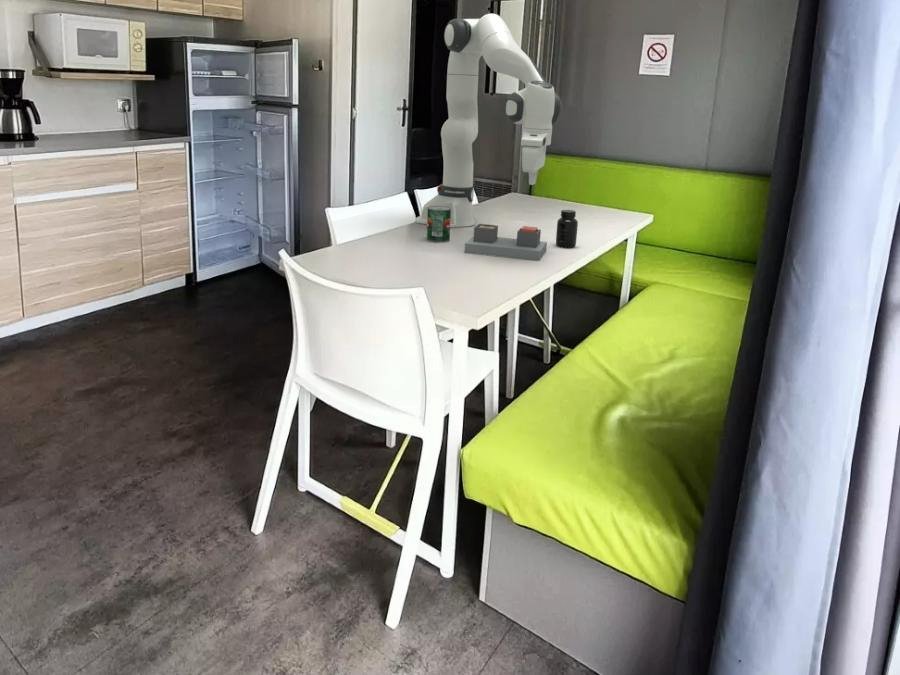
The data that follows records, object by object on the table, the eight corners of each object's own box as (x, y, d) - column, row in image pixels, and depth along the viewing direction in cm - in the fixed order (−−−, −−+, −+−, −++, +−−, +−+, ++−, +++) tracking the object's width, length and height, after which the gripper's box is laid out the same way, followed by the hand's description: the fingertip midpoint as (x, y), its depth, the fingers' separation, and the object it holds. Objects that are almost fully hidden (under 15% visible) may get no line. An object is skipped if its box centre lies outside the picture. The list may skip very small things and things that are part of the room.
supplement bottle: (561, 242, 247) (565, 208, 243) (579, 246, 243) (583, 211, 239) (551, 246, 242) (554, 210, 237) (568, 249, 238) (572, 213, 233)
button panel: (464, 252, 228) (465, 229, 225) (475, 243, 240) (476, 221, 238) (539, 260, 222) (541, 236, 219) (546, 250, 234) (548, 227, 232)
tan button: (477, 240, 230) (477, 227, 229) (480, 237, 234) (481, 225, 233) (490, 241, 229) (491, 229, 228) (493, 238, 233) (494, 226, 232)
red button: (520, 241, 226) (521, 228, 225) (522, 238, 230) (523, 226, 229) (534, 242, 225) (535, 230, 224) (536, 239, 229) (537, 227, 228)
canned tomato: (423, 237, 246) (424, 205, 242) (445, 236, 248) (446, 205, 244) (430, 242, 239) (432, 210, 235) (453, 242, 241) (454, 209, 237)
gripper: (532, 135, 227) (528, 179, 232) (520, 139, 208) (515, 187, 213) (552, 136, 225) (547, 181, 230) (541, 141, 207) (536, 189, 212)
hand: (532, 184), depth 222 cm, fingers closed
